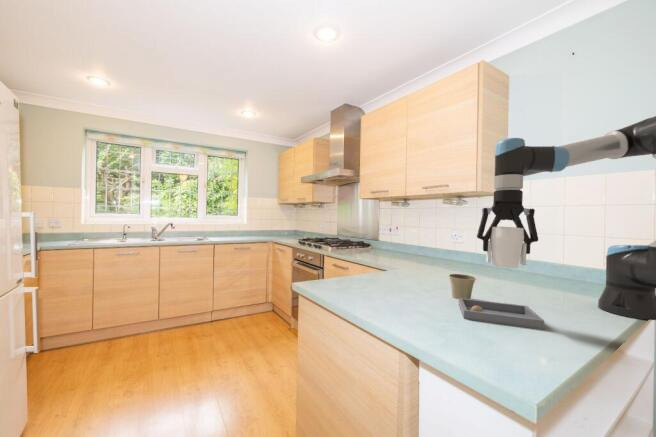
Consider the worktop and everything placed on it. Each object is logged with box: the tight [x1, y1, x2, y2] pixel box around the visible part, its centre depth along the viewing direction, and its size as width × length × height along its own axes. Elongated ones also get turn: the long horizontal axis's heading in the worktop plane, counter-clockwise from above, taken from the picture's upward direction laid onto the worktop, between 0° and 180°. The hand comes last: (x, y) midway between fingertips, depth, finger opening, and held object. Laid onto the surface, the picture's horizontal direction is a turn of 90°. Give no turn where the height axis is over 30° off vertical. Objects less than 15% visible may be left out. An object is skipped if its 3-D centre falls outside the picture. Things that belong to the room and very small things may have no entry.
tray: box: [458, 298, 545, 330], centre depth 87 cm, size 20×14×3 cm
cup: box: [489, 226, 525, 269], centre depth 87 cm, size 9×9×12 cm
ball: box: [471, 305, 484, 312], centre depth 85 cm, size 4×4×4 cm
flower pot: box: [448, 273, 477, 300], centre depth 106 cm, size 9×9×9 cm
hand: (505, 263), depth 87 cm, fingers closed on cup, 9 cm apart
